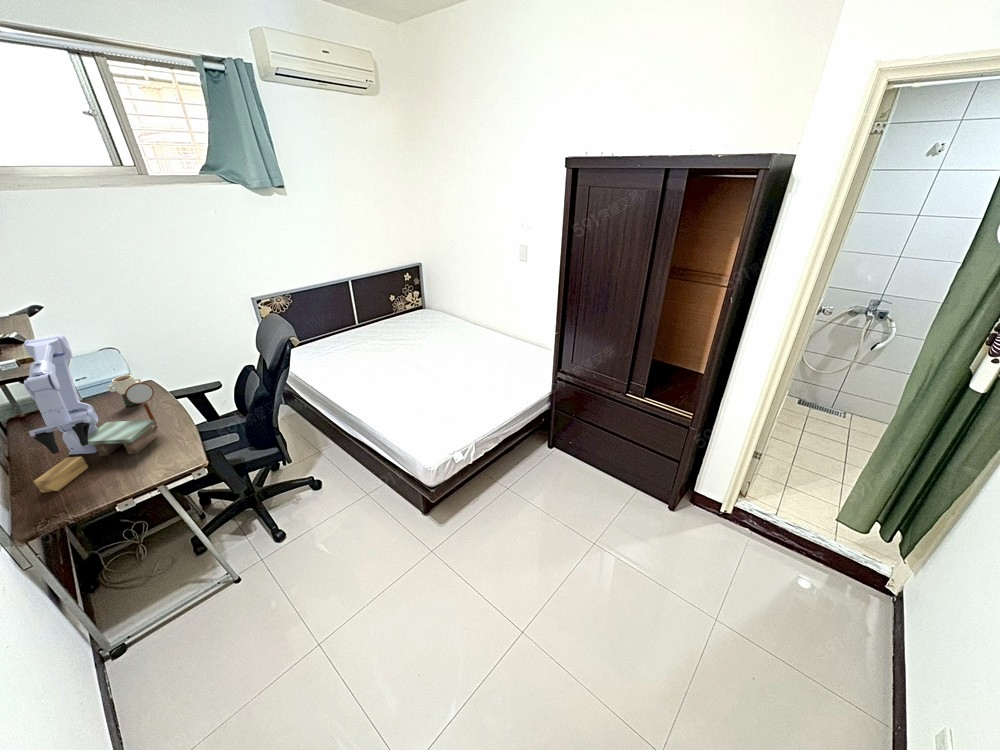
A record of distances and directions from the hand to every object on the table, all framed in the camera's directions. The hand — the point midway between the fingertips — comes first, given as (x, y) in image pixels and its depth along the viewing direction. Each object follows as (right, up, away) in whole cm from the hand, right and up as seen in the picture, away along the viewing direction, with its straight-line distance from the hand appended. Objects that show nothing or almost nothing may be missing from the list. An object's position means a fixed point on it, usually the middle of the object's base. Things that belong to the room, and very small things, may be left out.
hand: (71, 449), depth 132 cm
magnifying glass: (+1, +3, +32) cm, 32 cm away
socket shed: (+1, -3, +19) cm, 19 cm away
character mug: (-23, +12, +48) cm, 54 cm away
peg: (-6, -11, +4) cm, 13 cm away
